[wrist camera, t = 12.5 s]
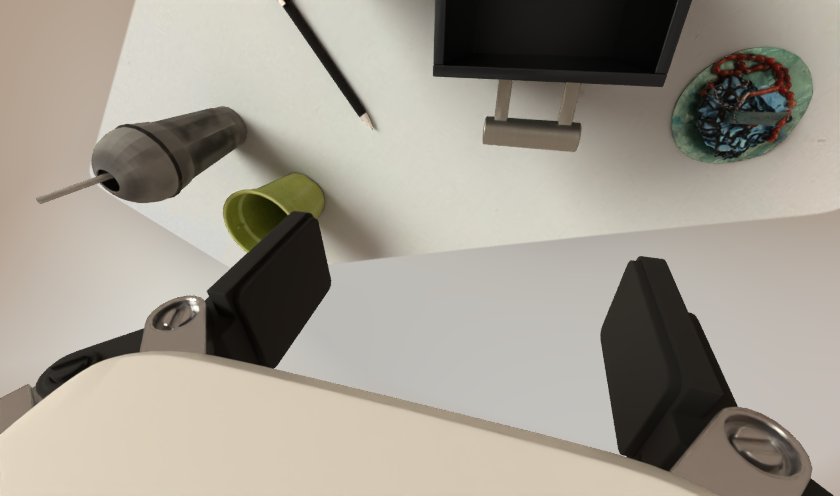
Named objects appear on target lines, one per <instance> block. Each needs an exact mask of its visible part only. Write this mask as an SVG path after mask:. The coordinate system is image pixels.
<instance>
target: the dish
mask: <svg viewBox="0 0 840 496" xmlns="http://www.w3.org/2000/svg"><path fill="white" fill-rule="evenodd" d="M733 54H734V55H732V56H729V57H727V56H726V57H724V59H723V60H722V61H720V62H717V63H716V62H715V63H713V64H712V65H710V66H709V67H708V68H706V69H705V70H704V71H703V72H702V73H701V74H699V75H698V76H697V77H696V78H695V79H694V80H693V81H692V82H691V83H690V84H689V85H688V87H687V88H686V89H685V91H684V92H683V93H682V95H681V96H680V98H679V100H678V103H677V105H676V107H675V110H674V113H673V118H672V134H673V138H674V140H675V142H676V144H677V146H678V147H679V148H680V150H681V151H682V152H683V153H684V154H686V155H687V156H688V157H690V158H692V159H694V160H698V161H701V162H708V163H728V162H735V161H741V160H743V159H747V158H748V159H749V158H752V157H755V156H759V155H761V154H764V153H766V152H767V151H769V150H771V149H772V148H774V147H775V146H777V145H778V144H779V143H781V142H782V141H783V140H784V139H785V138H786V137H787V136H788V134H789V133H790V132H791V131H792V129H793V128H794V127H795V126H796V124H797V122H798V121H799V120H800V118H801V117H802V116H803V114H804V112H805V111H806V109H807V106H808V104H809V101H810V99H811V96H812V93H813V89H812V79H811V74H810V71H809V69H808V68H807V66H806V64H805V63H804V62H803V61H802V59H800V58H799V57H798V56H796V55H795V54H793V53H791V52H789V51H786V50H783V49H779V48H771V47H760V48H751V49H746V50H742V51H739V52H736V53H733ZM738 131H739V132H738Z"/></svg>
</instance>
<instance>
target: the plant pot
mask: <svg viewBox="0 0 840 496" xmlns="http://www.w3.org/2000/svg"><path fill="white" fill-rule="evenodd" d="M323 208H324V196H323V193H322V191H321V189H320V188H319V186H318V185H317V184H316V183H314V182H313V181H311V180H310V179H309V178H308V177H307V176H305V175H303V174H299V173H292V174H289V175H286V176H284V177H282V178H280V179H278V180H276V181H273V182H271V183H269V184H267V185H264V186H262V187H260V188H257V189H251V190H241V191H238V192H235V193H233V194H232V195H230V196H229V197H228V198H227V200H226V202H225V204H224V207H223V218H224V222H225V225H226V228H227V230H228V232H229V233H230V235H231V237H232V238H233V239H234V241H235V242H236V243H237V244H238V245H239V246H240V247H241V248H242V249H243V250H244V251H246V252H247V253H248V252H249V251H250V250H251V249H252V248H253V247H254V246H256V245H257V244H258V243H259V242H260V241H261V240H262V239H263V238H264V237H265V236H266V235H267V234H268V233H269V232H271V231H272V230H273V229H274V228H275V227H276V226H277V225H278V224H279V223H280V222H281V221H282V220H283V219H285V218H286V217H287V216H288V215H289V214H290V213H291V212H293V211H301V212H308V213H311V214H312V215H313V216H314V218H316V219H317V218H318V216H319V215H320V213H321V212H322V210H323Z"/></svg>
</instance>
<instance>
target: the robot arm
mask: <svg viewBox="0 0 840 496" xmlns="http://www.w3.org/2000/svg"><path fill="white" fill-rule="evenodd" d="M330 286H331V277H330V273H329V269H328V264H327V259H326V254H325V250H324V245H323V241H322V236H321V231H320V227H319V222H318V220H317V219H316V218H314V216H313V215H312V214H311V213H308V212H301V211H293V212H291V213H290V214H289V215H288V216H287V217H286V218H285V219H283V220H282V221H281V222H280V223H279V224H278V225H277V226H276V227H275V228H274V229H273V230H272V231H271V232H269V233H268V234H267V235H266V236H265V237H264V238H263V239H262V240H261V241H260V242H259V243H258V244H257V245H256V246H254V247H253V248H252V249H251V250H250V251H249V252H248V253H247V254H246V255H245V256H244V257H243V258H242V259H240V260H239V261H238V262H237V263H236V264H235V265H234V266H233V267H232V268H231V269H230V270H229V271H228V272H227V273H226V274H224V275H223V276H222V277H221V278H220V279H219V280H218V281H217V282H216V283H215V284H214V285H213V286H211V287H210V288H209V289H208V290H207V292H208V295H209V297H208V298H207V299H206V300H205V301H204V300H203V299H202V298H201V297H197V296H183V297H178V298H175V299H172V300H170V301H168V302H166V303H164V304H162V305H160V306H159V307H158V308H157V309H155V310H154V311H153V312H152V313H151V314H150V315H149V317H148V318H147V320H146V323H145V328H144V329H141V330H138V331H135V332H132V333H129V334H126V335H123V336H120V337H117V338H114V339H111V340H108V341H105V342H103V343H100V344H96V345H93V346H91V347H88V348H85V349H82V350H79V351H76V352H74V353H71V354H69V355H67V356H65V357H63V358H61V359H59V360H58V361H56V362H55V363H54V364H53V365H51V366H50V367H49V368H48V369H47V370H46V371H45V372H44V373H43V374H42V375H41V376H40V378H39V379H38V381H37V383H36V386H35V387H33V388H32V387H31V386H30V385H29V384H27V385H25V386H23V387H21V388H19V389H17V390H15V391H13V392H12V393H9V394H7V395H6V396H4V397H2V398H0V496H833V495H832V494H831V493H829V492H828V491H827V490H825V489H824V488H823V487H821V486H820V485H819V484H818V483H816V482H815V481H814V480H812V479H811V473H812V466H811V462H810V459H809V456H808V455H807V453H806V451H805V450H804V448H803V447H802V445H801V444H800V443H799V441H798V440H796V438H795V437H794V436H793V435H792V434H791V433H790V432H789V431H788V430H786V429H785V428H783V427H782V426H781V425H779V424H778V423H777V422H776V421H774V420H772V419H770V418H769V417H767V416H765V415H763V414H761V413H759V412H755V411H753V410H750V409H747V408H741V407H738V406H737V404H736V402H735V399H734V397H733V395H732V393H731V391H730V388H729V386H728V384H727V382H726V380H725V378H724V375H723V373H722V371H721V369H720V366H719V364H718V362H717V360H716V358H715V356H714V353H713V351H712V349H711V347H710V345H709V342H708V340H707V338H706V336H705V334H704V331H703V329H702V327H701V325H700V323H699V321H698V319H697V317H696V316H695V315H694V314H692V313H689V312H688V311H687V309H686V306H685V304H684V302H683V299H682V297H681V295H680V292H679V290H678V288H677V286H676V283H675V281H674V279H673V276H672V274H671V272H670V270H669V267H668V265H667V263H666V261H665V260H664V259H658V258H651V257H643V256H640V257H638V258H637V260H636V261H632V260H631V261H630V262H629V263H628V265H627V267H626V269H625V272H624V274H623V277H622V279H621V282H620V284H619V286H618V289H617V292H616V294H615V296H614V299H613V301H612V304H611V306H610V308H609V311H608V314H607V316H606V318H605V321H604V323H603V326H602V329H601V344H602V351H603V358H604V363H605V370H606V376H607V382H608V388H609V395H610V401H611V407H612V414H613V419H614V426H615V432H616V438H617V445H618V450H619V452H620V454H621V455H625V456H627V457H623V456H620V455H617V454H614V453H611V452H607V451H603V450H599V449H595V448H592V447H588V446H584V445H580V444H576V443H573V442H569V441H565V440H561V439H558V438H554V437H550V436H546V435H543V434H539V433H535V432H531V431H527V430H523V429H518V428H514V427H510V426H507V425H503V424H499V423H495V422H490V421H486V420H482V419H478V418H474V417H470V416H466V415H462V414H458V413H454V412H450V411H446V410H442V409H438V408H434V407H430V406H426V405H422V404H418V403H413V402H409V401H405V400H401V399H397V398H393V397H389V396H385V395H380V394H376V393H372V392H368V391H364V390H360V389H356V388H352V387H348V386H344V385H340V384H335V383H331V382H327V381H322V380H318V379H314V378H310V377H306V376H301V375H297V374H293V373H289V372H285V371H280V370H276V369H274V368H275V367H276V366H277V365H278V364H279V362H280V360H281V359H282V357H283V356H284V355H285V353H286V352H287V351H288V349H289V348H290V346H291V345H292V343H293V342H294V340H295V339H296V337H297V336H298V334H299V333H300V332H301V330H302V329H303V327H304V325H305V324H306V323H307V321H308V320H309V318H310V317H311V315H312V314H313V313H314V311H315V310H316V308H317V307H318V305H319V304H320V302H321V301H322V299H323V298H324V297H325V295H326V293H327V292H328V291H329V289H330Z"/></svg>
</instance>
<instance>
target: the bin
mask: <svg viewBox="0 0 840 496" xmlns="http://www.w3.org/2000/svg"><path fill="white" fill-rule="evenodd" d="M691 2H692V0H435V30H434V66H433V76H435V77H456V78H478V79H499V84H498V92H497V101H496V110H495V117H488V116H487V117H486V119H485V123H484V129H483V144H487V145H498V146H510V147H522V148H534V149H546V150H557V151H569V152H575V151H576V150H577V147H578V144H579V140H580V136H581V123H576V122H572V121H573V117H574V112H575V108H576V103H577V99H578V94H579V90H580V85H581V83H586V84H608V85H630V86H651V87H663V86H664V83H665V80H666V77H667V73H668V71H669V68H670V65H671V62H672V59H673V56H674V53H675V50H676V47H677V44H678V41H679V38H680V35H681V32H682V29H683V26H684V23H685V20H686V17H687V14H688V11H689V8H690V5H691ZM512 80H521V81H543V82H565V83H566V84H565V89H564V94H563V99H562V104H561V108H560V113H559V118H558V121H547V120H532V119H517V118H508V110H509V103H510V95H511V88H512Z"/></svg>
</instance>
